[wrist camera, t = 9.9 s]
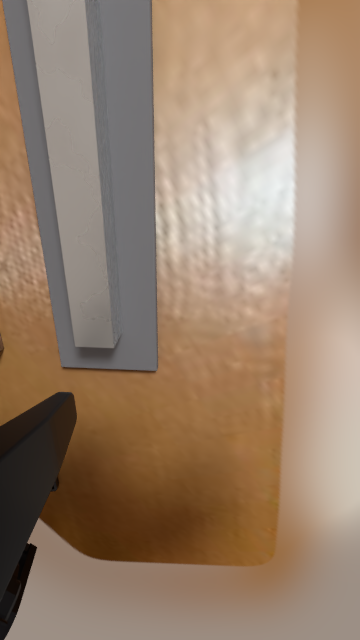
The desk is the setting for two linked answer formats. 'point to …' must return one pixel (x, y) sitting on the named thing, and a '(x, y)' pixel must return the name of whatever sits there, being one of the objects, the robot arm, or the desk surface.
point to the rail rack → (1, 344)
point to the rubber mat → (127, 176)
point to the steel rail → (80, 161)
